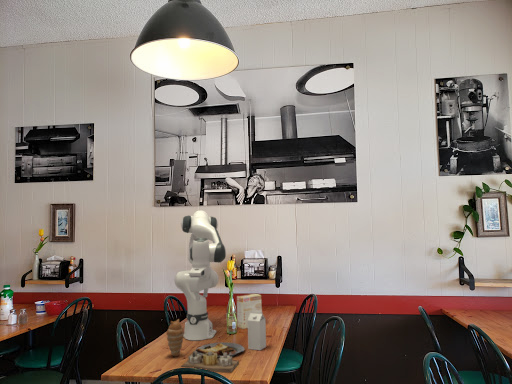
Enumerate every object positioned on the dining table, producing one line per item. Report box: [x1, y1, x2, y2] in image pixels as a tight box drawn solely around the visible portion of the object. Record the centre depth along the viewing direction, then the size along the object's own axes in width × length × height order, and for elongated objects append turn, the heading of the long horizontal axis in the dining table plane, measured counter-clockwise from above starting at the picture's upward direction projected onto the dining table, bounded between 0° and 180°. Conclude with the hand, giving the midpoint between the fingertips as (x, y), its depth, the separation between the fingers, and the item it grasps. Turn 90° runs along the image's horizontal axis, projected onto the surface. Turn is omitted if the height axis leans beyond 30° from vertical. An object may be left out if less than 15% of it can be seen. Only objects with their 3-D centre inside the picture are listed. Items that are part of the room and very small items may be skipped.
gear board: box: [180, 350, 240, 374], centre depth 197 cm, size 12×24×6 cm, turn 75°
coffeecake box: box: [236, 293, 263, 330], centre depth 273 cm, size 15×7×20 cm, turn 122°
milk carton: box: [247, 311, 267, 351], centre depth 225 cm, size 7×7×19 cm
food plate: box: [195, 341, 246, 358], centre depth 218 cm, size 25×23×4 cm
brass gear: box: [202, 352, 218, 366], centre depth 197 cm, size 7×7×4 cm
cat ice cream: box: [166, 318, 184, 357], centre depth 214 cm, size 9×8×18 cm
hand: (201, 298), depth 211 cm, fingers open, 8 cm apart
